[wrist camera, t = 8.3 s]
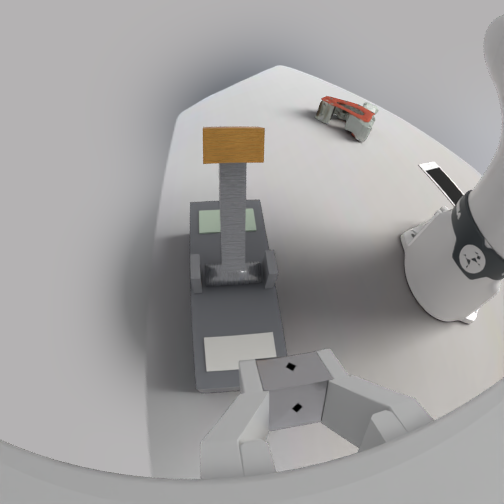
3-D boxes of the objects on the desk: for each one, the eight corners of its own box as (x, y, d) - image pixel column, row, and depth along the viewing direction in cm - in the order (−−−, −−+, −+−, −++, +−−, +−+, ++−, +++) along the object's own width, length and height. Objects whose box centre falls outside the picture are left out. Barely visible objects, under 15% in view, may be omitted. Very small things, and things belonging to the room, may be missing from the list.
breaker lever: (262, 289, 25) (268, 128, 19) (206, 292, 25) (198, 128, 18) (257, 273, 28) (261, 126, 21) (206, 276, 27) (199, 127, 20)
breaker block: (278, 385, 27) (300, 375, 19) (201, 393, 26) (192, 386, 18) (254, 230, 37) (263, 181, 30) (193, 233, 36) (188, 183, 29)
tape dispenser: (370, 116, 65) (303, 102, 60) (377, 100, 60) (309, 84, 56) (402, 154, 55) (328, 140, 51) (412, 136, 50) (337, 118, 46)
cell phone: (433, 162, 54) (434, 161, 54) (475, 212, 47) (477, 211, 47) (417, 166, 52) (418, 164, 52) (463, 221, 45) (465, 219, 44)
